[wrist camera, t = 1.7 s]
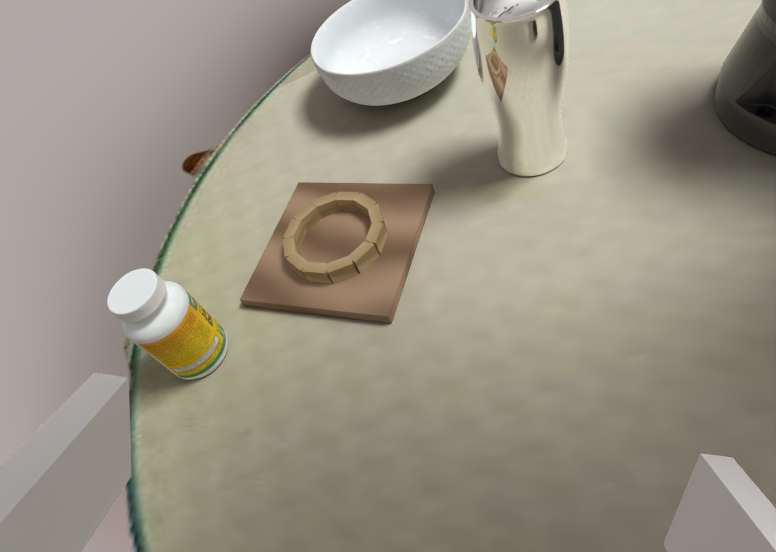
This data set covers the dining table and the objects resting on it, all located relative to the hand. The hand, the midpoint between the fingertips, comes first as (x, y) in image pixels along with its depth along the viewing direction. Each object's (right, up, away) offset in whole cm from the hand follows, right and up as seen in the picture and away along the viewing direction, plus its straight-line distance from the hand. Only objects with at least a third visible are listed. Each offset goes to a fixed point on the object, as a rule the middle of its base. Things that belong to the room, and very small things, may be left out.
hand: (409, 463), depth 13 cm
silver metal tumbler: (+13, +15, +38) cm, 43 cm away
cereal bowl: (+1, +26, +50) cm, 56 cm away
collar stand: (-5, +7, +37) cm, 38 cm away
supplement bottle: (-16, -2, +35) cm, 38 cm away
